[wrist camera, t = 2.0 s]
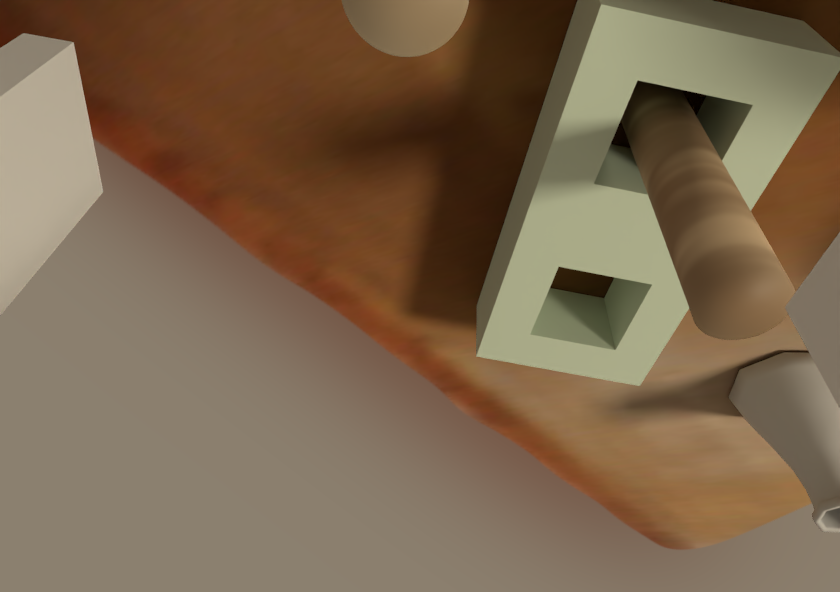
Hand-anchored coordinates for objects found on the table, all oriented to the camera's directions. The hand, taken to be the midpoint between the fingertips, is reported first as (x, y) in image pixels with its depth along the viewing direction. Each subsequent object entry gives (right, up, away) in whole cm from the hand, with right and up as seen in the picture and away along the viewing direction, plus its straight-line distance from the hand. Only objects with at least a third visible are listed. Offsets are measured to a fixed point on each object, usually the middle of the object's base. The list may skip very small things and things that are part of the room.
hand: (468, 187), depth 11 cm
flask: (+24, -8, +33) cm, 41 cm away
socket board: (+9, +4, +24) cm, 26 cm away
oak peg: (+10, +8, +20) cm, 24 cm away
